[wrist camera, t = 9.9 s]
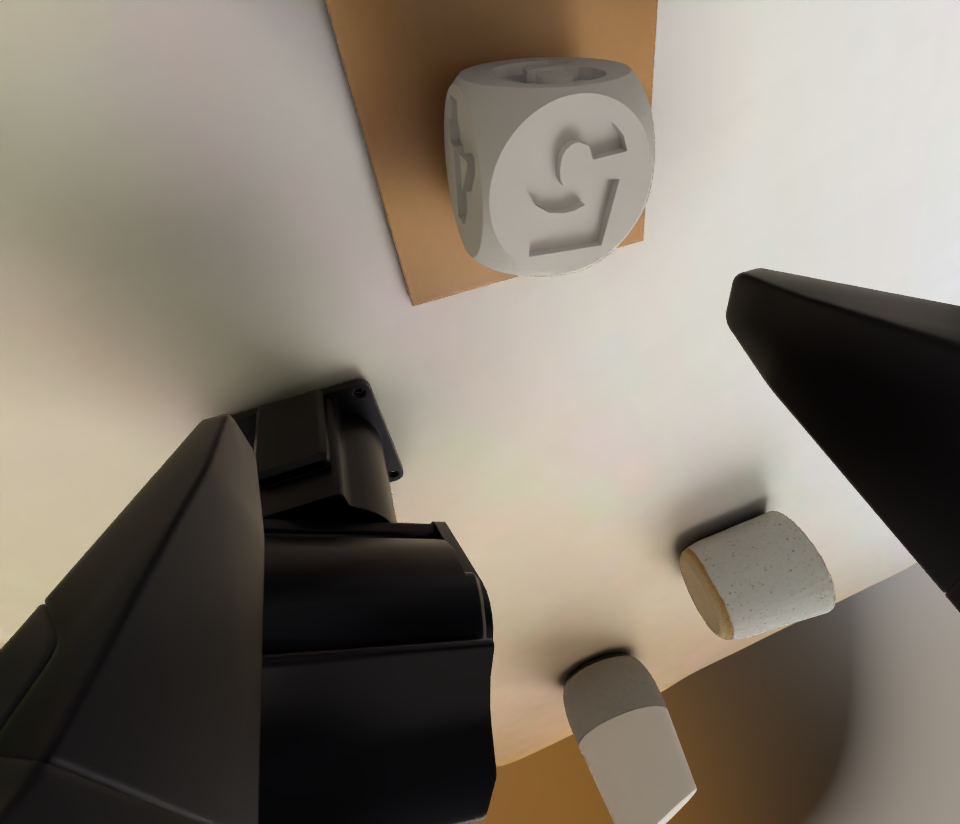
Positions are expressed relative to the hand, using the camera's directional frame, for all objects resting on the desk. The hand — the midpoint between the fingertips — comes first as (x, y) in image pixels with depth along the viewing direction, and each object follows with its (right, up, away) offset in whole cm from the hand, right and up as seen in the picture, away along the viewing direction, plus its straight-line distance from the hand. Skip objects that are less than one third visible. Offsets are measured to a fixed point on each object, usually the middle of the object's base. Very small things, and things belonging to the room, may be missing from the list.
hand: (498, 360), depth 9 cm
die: (+1, +8, +9) cm, 12 cm away
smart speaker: (+12, -27, +44) cm, 53 cm away
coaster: (+1, +9, +9) cm, 13 cm away
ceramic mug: (+19, -12, +34) cm, 41 cm away
